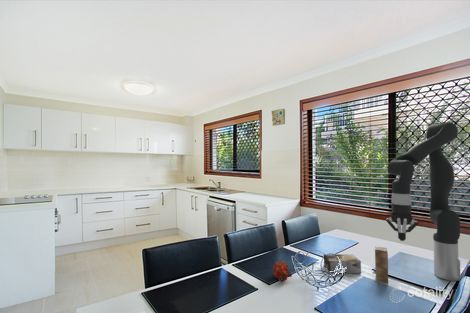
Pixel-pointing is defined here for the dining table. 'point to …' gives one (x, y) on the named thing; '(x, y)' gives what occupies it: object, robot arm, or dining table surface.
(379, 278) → the walnut pillar
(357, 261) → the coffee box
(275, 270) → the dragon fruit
